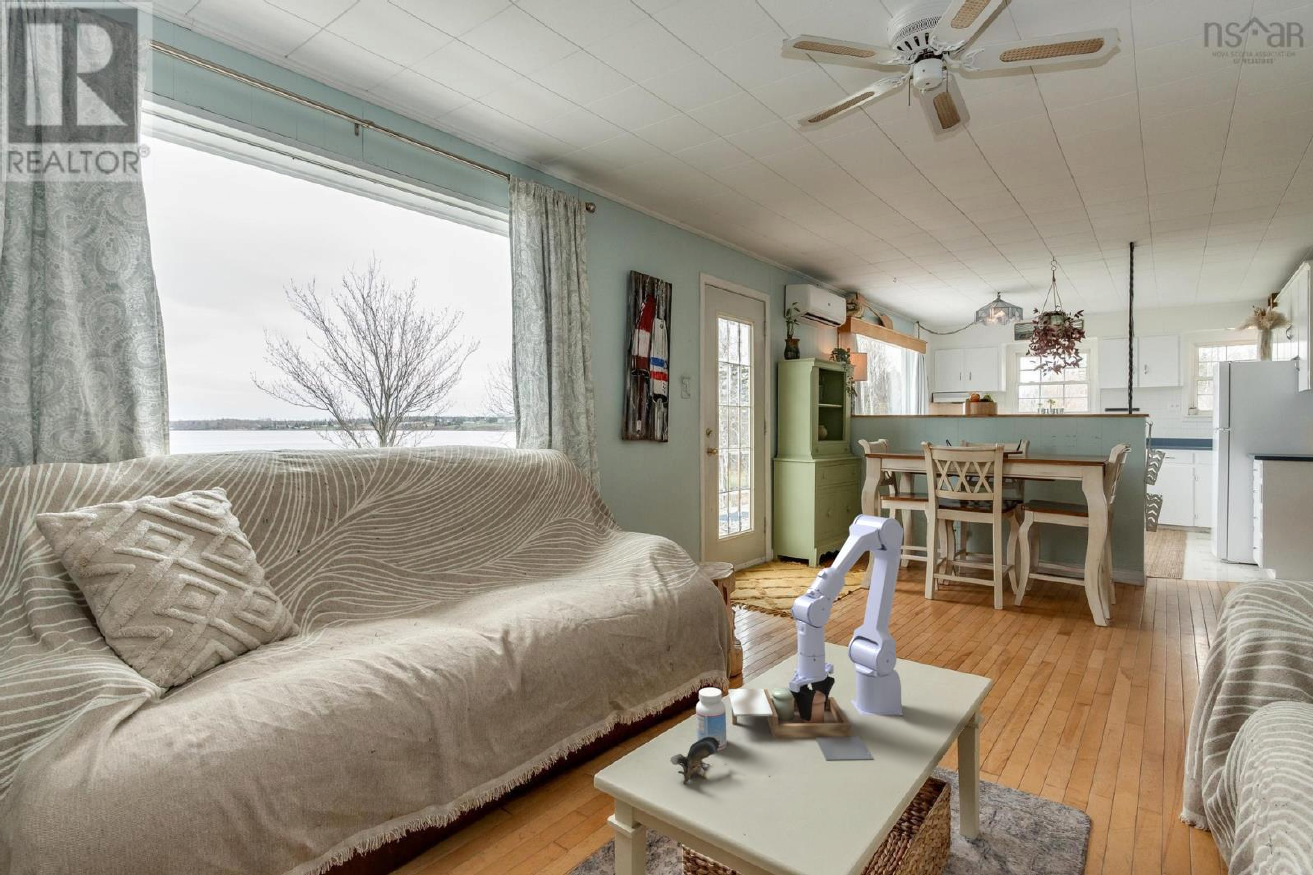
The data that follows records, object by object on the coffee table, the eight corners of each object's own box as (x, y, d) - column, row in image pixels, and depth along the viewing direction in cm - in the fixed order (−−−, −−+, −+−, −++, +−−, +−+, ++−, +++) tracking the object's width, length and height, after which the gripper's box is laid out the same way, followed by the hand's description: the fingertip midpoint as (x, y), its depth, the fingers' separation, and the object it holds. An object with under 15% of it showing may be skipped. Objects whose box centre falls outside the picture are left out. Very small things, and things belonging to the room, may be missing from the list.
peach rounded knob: (822, 714, 142) (821, 690, 142) (828, 726, 137) (828, 700, 137) (797, 715, 142) (797, 690, 142) (803, 726, 137) (802, 700, 137)
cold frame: (833, 710, 147) (832, 686, 147) (851, 739, 133) (850, 713, 133) (728, 711, 148) (727, 688, 148) (735, 741, 134) (734, 715, 134)
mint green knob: (793, 711, 146) (792, 686, 146) (797, 720, 141) (797, 695, 141) (770, 711, 146) (770, 687, 146) (774, 721, 141) (774, 696, 141)
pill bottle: (729, 741, 134) (728, 687, 134) (722, 755, 128) (721, 699, 128) (701, 737, 136) (700, 684, 135) (693, 751, 130) (692, 696, 130)
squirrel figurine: (713, 785, 115) (728, 753, 123) (689, 751, 116) (706, 721, 124) (682, 798, 119) (699, 766, 127) (659, 765, 119) (678, 735, 127)
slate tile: (859, 740, 133) (859, 736, 133) (873, 762, 124) (873, 758, 124) (815, 741, 133) (815, 737, 133) (826, 763, 124) (826, 759, 124)
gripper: (813, 640, 147) (815, 699, 147) (776, 656, 137) (778, 720, 137) (841, 646, 142) (842, 708, 142) (805, 664, 132) (806, 730, 132)
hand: (812, 714), depth 139 cm, fingers closed on peach rounded knob, 5 cm apart
